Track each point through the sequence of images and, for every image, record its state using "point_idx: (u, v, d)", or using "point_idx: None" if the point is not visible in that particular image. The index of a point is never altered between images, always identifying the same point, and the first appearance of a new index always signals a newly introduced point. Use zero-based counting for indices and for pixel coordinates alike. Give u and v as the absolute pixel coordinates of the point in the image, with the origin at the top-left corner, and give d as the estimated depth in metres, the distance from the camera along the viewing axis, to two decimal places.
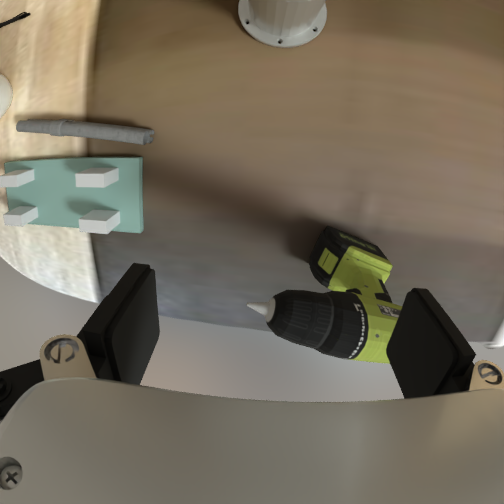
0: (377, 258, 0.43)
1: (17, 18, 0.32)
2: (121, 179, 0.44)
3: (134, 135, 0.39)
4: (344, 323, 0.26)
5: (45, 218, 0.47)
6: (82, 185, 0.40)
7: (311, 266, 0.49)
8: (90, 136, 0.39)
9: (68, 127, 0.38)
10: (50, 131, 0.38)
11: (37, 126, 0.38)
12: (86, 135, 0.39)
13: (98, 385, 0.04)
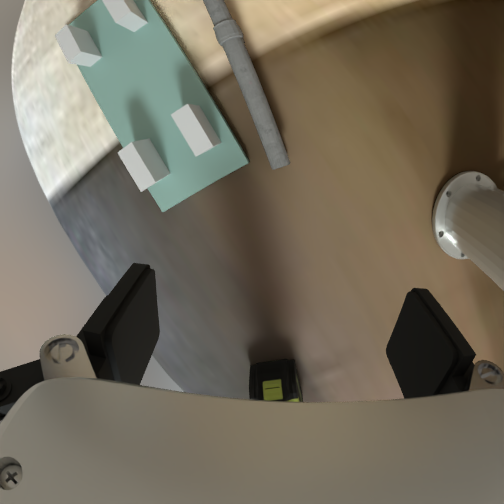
0: None
1: None
2: (209, 154, 0.34)
3: (278, 153, 0.31)
4: None
5: (94, 77, 0.30)
6: (178, 123, 0.28)
7: (252, 373, 0.46)
8: (244, 90, 0.28)
9: (239, 51, 0.26)
10: (219, 25, 0.25)
11: (215, 1, 0.24)
12: (242, 83, 0.28)
13: (98, 385, 0.04)
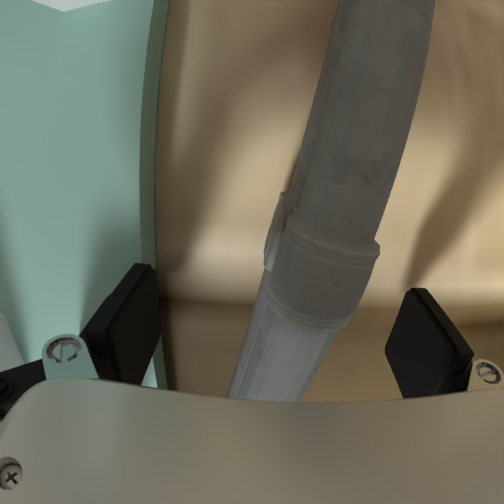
0: None
1: None
2: None
3: None
4: None
5: None
6: None
7: None
8: None
9: (302, 373, 0.08)
10: (319, 256, 0.07)
11: (391, 126, 0.06)
12: None
13: (98, 385, 0.04)
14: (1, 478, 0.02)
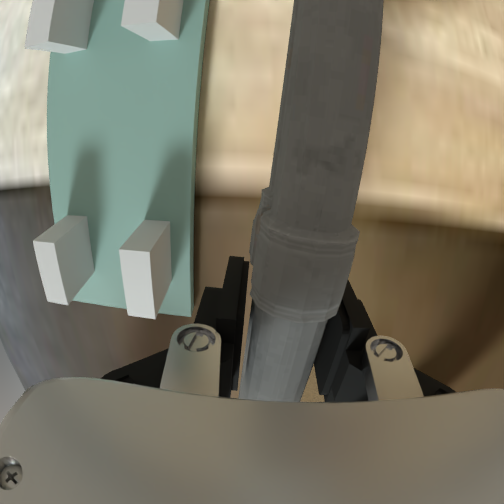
0: None
1: None
2: None
3: None
4: None
5: (60, 75, 0.17)
6: (124, 267, 0.18)
7: None
8: None
9: (297, 366, 0.08)
10: (293, 249, 0.07)
11: (349, 109, 0.06)
12: None
13: (98, 385, 0.04)
14: (1, 478, 0.02)
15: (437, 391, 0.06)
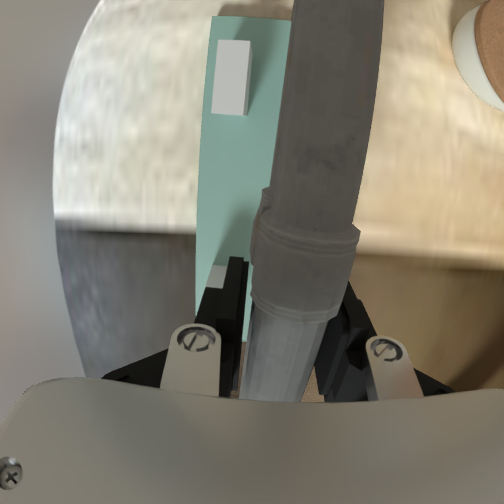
0: None
1: None
2: None
3: None
4: None
5: (216, 135, 0.23)
6: None
7: None
8: None
9: (297, 367, 0.08)
10: (293, 249, 0.07)
11: (349, 107, 0.05)
12: None
13: (98, 385, 0.04)
14: (1, 478, 0.02)
15: (437, 391, 0.06)
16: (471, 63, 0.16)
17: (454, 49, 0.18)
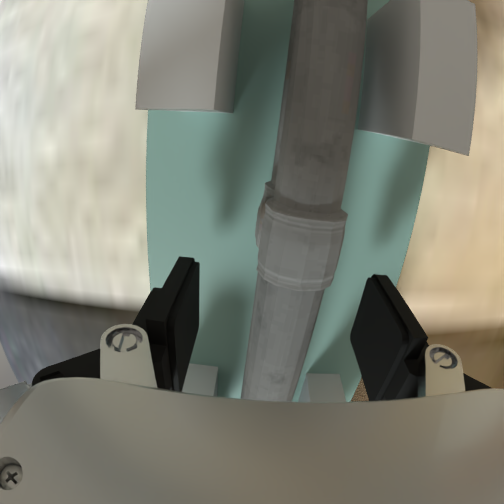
0: None
1: None
2: None
3: None
4: None
5: (175, 153, 0.12)
6: None
7: None
8: None
9: (297, 333, 0.10)
10: (292, 226, 0.08)
11: (336, 112, 0.07)
12: (255, 395, 0.11)
13: (98, 385, 0.04)
14: (1, 478, 0.02)
15: None
16: None
17: None
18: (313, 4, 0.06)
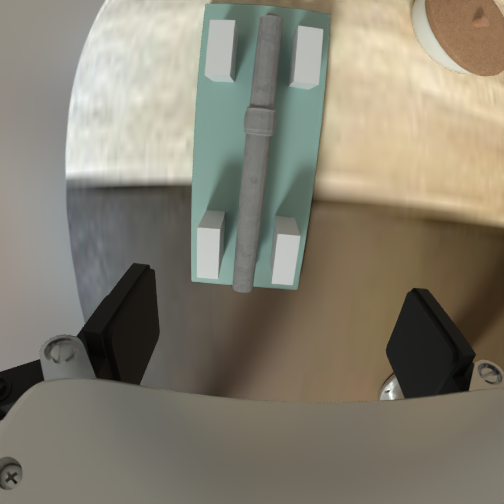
0: None
1: None
2: (270, 264, 0.34)
3: (245, 279, 0.30)
4: None
5: (209, 98, 0.27)
6: (279, 247, 0.28)
7: None
8: (242, 201, 0.27)
9: (260, 155, 0.25)
10: (255, 111, 0.23)
11: (268, 76, 0.22)
12: (244, 194, 0.26)
13: (98, 385, 0.04)
14: (1, 478, 0.02)
15: None
16: (424, 32, 0.20)
17: (412, 22, 0.21)
18: (260, 41, 0.21)
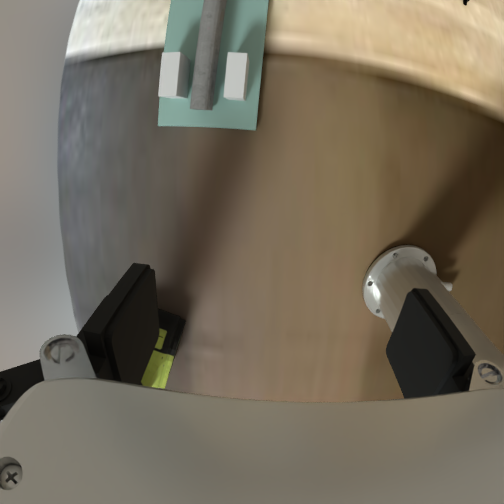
0: (167, 377, 0.45)
1: None
2: (229, 104, 0.34)
3: (200, 96, 0.29)
4: None
5: None
6: (229, 63, 0.28)
7: None
8: (200, 32, 0.27)
9: None
10: None
11: None
12: (201, 27, 0.26)
13: (98, 385, 0.04)
14: (1, 478, 0.02)
15: None
16: None
17: None
18: None
